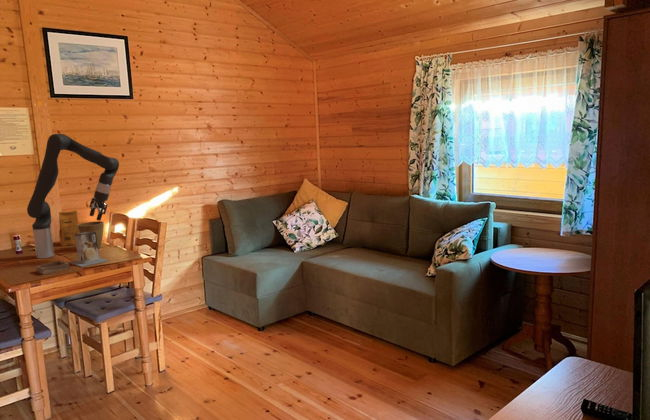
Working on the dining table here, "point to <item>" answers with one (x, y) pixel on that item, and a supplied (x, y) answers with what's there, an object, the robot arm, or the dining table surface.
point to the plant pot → (93, 229)
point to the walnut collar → (52, 267)
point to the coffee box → (87, 247)
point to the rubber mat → (88, 262)
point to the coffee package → (68, 227)
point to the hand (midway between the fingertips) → (94, 218)
